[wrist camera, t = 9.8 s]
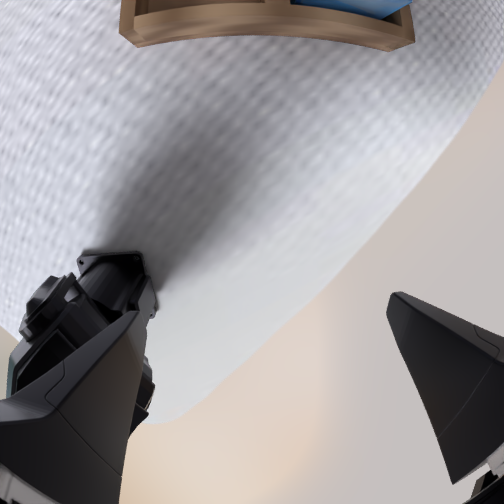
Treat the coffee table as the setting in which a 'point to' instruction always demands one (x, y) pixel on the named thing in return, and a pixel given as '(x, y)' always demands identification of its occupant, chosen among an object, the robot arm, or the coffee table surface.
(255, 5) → the wooden divided tray
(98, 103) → the coffee table surface
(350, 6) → the perfume bottle
